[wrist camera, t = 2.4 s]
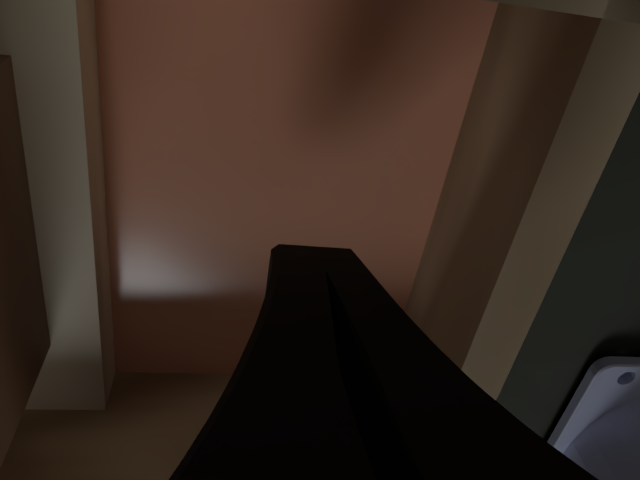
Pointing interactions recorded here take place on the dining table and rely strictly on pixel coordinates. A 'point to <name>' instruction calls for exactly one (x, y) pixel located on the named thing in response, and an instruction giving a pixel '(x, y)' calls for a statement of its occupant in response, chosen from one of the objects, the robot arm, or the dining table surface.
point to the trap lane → (290, 186)
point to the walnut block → (17, 271)
